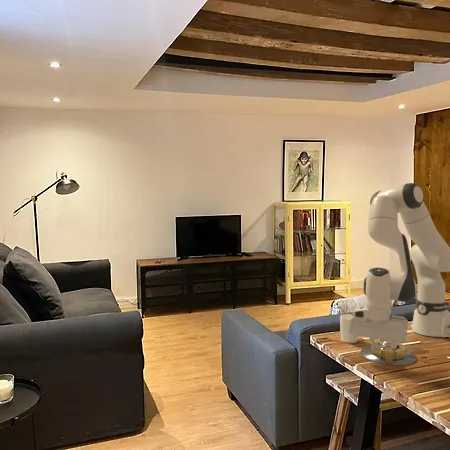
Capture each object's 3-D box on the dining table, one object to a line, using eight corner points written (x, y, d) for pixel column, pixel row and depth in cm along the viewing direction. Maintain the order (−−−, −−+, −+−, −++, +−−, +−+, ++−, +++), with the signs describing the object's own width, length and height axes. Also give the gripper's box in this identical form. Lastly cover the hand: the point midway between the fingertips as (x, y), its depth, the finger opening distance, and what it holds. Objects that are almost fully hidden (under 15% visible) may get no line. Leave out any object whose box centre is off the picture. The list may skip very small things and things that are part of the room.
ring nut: (371, 346, 183) (372, 336, 183) (404, 349, 180) (404, 339, 179) (371, 361, 168) (371, 350, 168) (406, 365, 165) (407, 354, 164)
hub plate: (384, 343, 190) (385, 330, 189) (428, 359, 173) (428, 345, 172) (349, 352, 179) (349, 338, 179) (391, 369, 162) (392, 354, 162)
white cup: (359, 344, 189) (360, 320, 188) (339, 342, 190) (340, 318, 189) (358, 337, 196) (358, 314, 195) (338, 336, 198) (339, 313, 197)
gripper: (409, 314, 166) (408, 352, 167) (352, 307, 176) (352, 342, 178) (406, 319, 161) (405, 357, 162) (348, 311, 171) (347, 347, 172)
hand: (377, 349), depth 170 cm, fingers closed
